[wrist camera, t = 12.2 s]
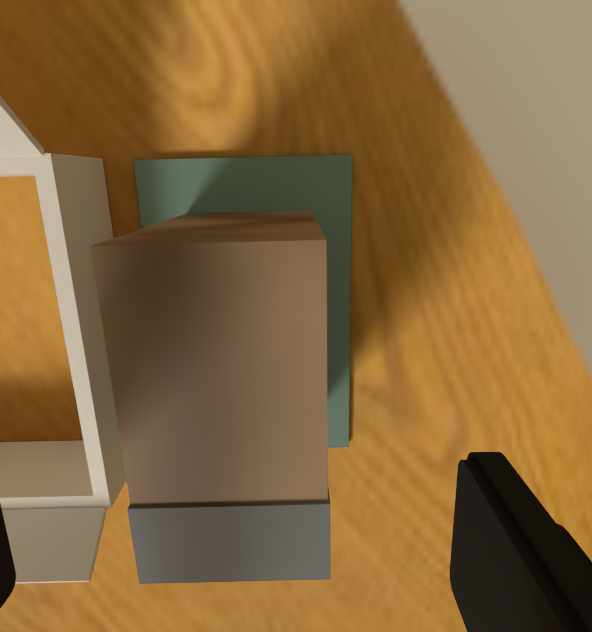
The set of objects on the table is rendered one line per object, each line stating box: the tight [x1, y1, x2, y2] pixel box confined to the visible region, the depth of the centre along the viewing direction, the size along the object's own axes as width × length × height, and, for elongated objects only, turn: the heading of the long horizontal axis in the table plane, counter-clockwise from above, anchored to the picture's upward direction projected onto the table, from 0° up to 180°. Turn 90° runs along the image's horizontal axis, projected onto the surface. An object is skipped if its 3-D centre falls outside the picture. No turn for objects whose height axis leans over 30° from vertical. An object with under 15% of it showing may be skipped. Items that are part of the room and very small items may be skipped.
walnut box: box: [90, 210, 330, 584], centre depth 15 cm, size 5×9×9 cm, turn 1°
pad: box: [133, 155, 352, 447], centre depth 20 cm, size 8×13×1 cm, turn 1°
